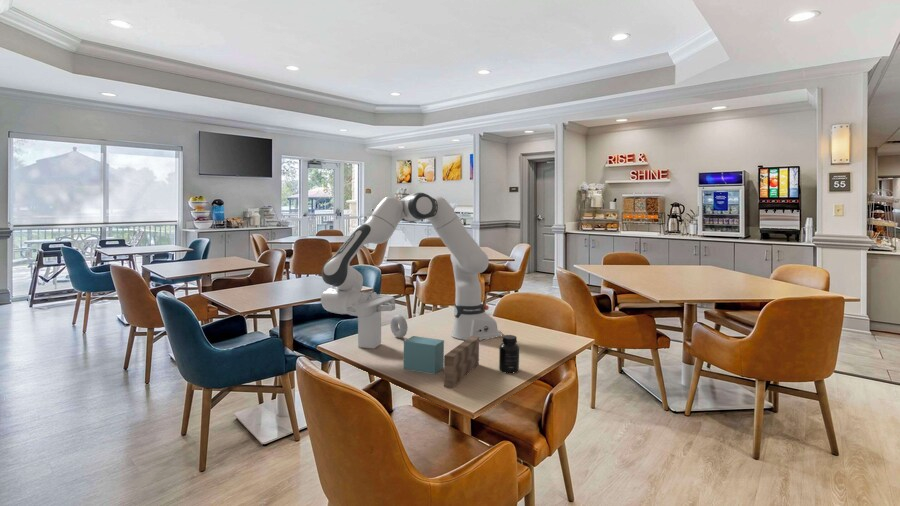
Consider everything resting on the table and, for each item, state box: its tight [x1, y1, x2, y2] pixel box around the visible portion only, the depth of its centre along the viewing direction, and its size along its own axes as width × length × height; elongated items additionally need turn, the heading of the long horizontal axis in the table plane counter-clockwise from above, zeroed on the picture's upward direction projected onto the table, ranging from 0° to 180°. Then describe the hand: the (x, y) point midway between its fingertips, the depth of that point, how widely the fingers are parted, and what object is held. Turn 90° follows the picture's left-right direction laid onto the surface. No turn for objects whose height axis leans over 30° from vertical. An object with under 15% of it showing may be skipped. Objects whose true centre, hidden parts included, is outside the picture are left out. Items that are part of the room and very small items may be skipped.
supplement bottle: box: [498, 334, 520, 374], centre depth 161 cm, size 7×7×12 cm
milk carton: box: [357, 311, 382, 349], centre depth 186 cm, size 7×7×19 cm
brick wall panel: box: [443, 336, 480, 389], centre depth 156 cm, size 24×3×10 cm, turn 157°
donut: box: [390, 314, 409, 339], centre depth 199 cm, size 10×4×10 cm, turn 43°
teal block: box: [403, 335, 445, 375], centre depth 162 cm, size 12×7×10 cm, turn 67°
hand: (393, 308), depth 166 cm, fingers closed
